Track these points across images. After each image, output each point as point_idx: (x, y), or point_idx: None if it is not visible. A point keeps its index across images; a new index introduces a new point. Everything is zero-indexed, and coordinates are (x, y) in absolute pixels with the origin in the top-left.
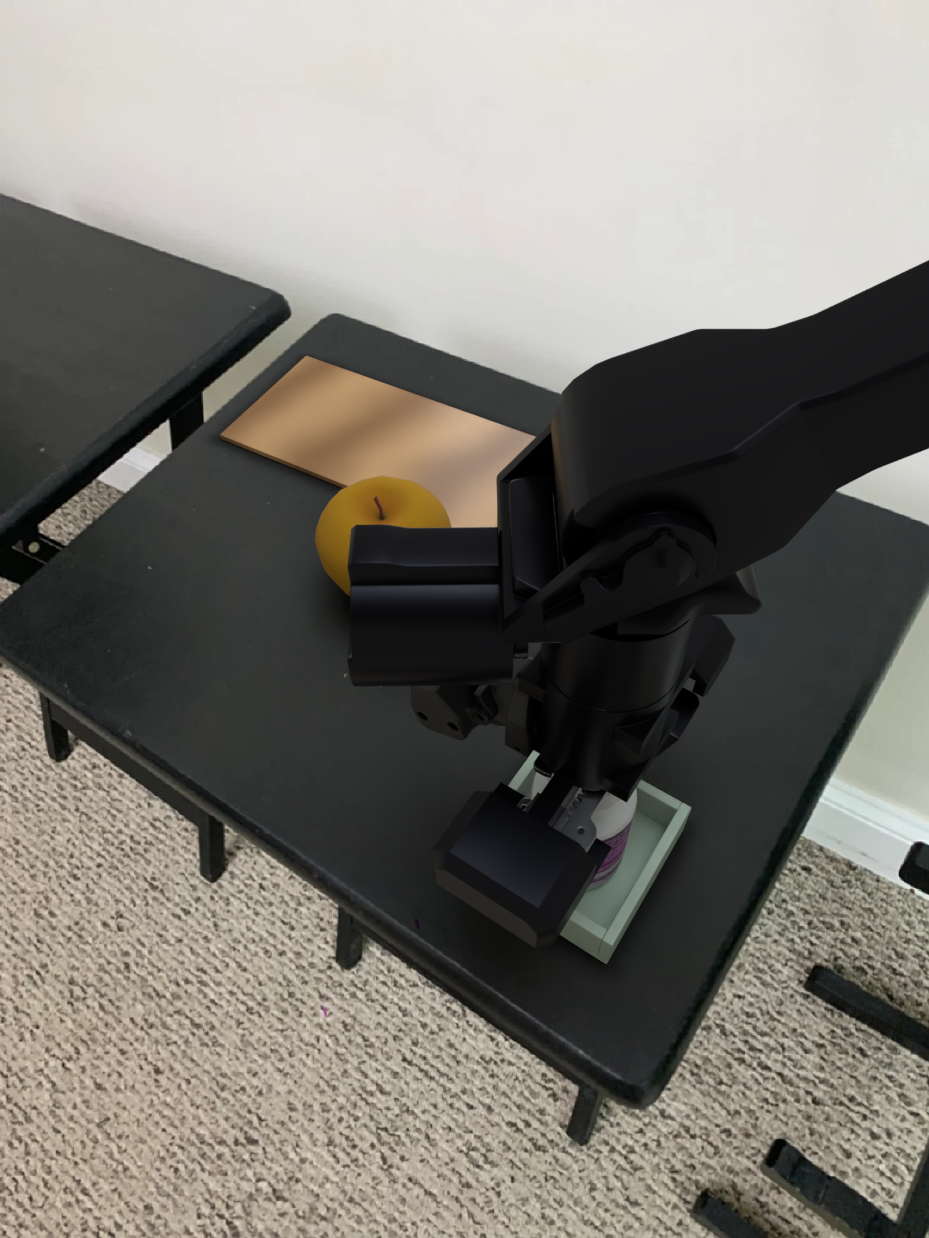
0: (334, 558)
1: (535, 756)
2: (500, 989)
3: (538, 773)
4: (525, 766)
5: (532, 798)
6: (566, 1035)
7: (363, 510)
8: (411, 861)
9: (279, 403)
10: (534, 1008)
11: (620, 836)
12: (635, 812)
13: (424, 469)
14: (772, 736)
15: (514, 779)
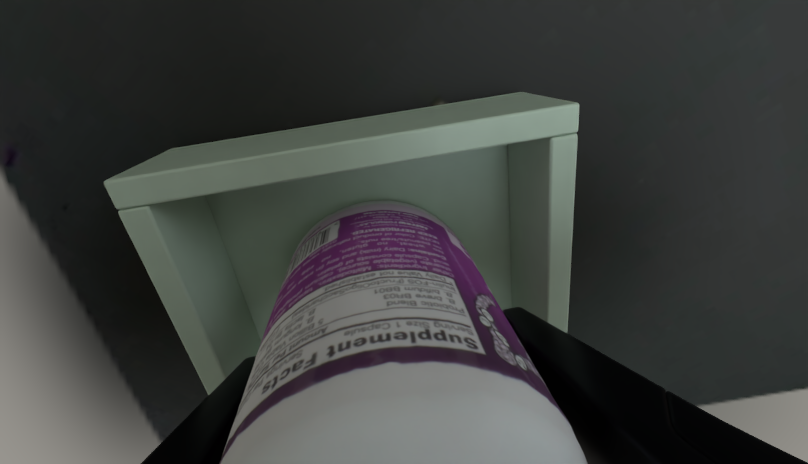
0: None
1: (478, 136)
2: (102, 338)
3: (316, 459)
4: (434, 136)
5: (246, 430)
6: (154, 426)
7: None
8: (74, 33)
9: None
10: (136, 383)
11: None
12: (507, 303)
13: None
14: (739, 348)
15: (380, 141)
